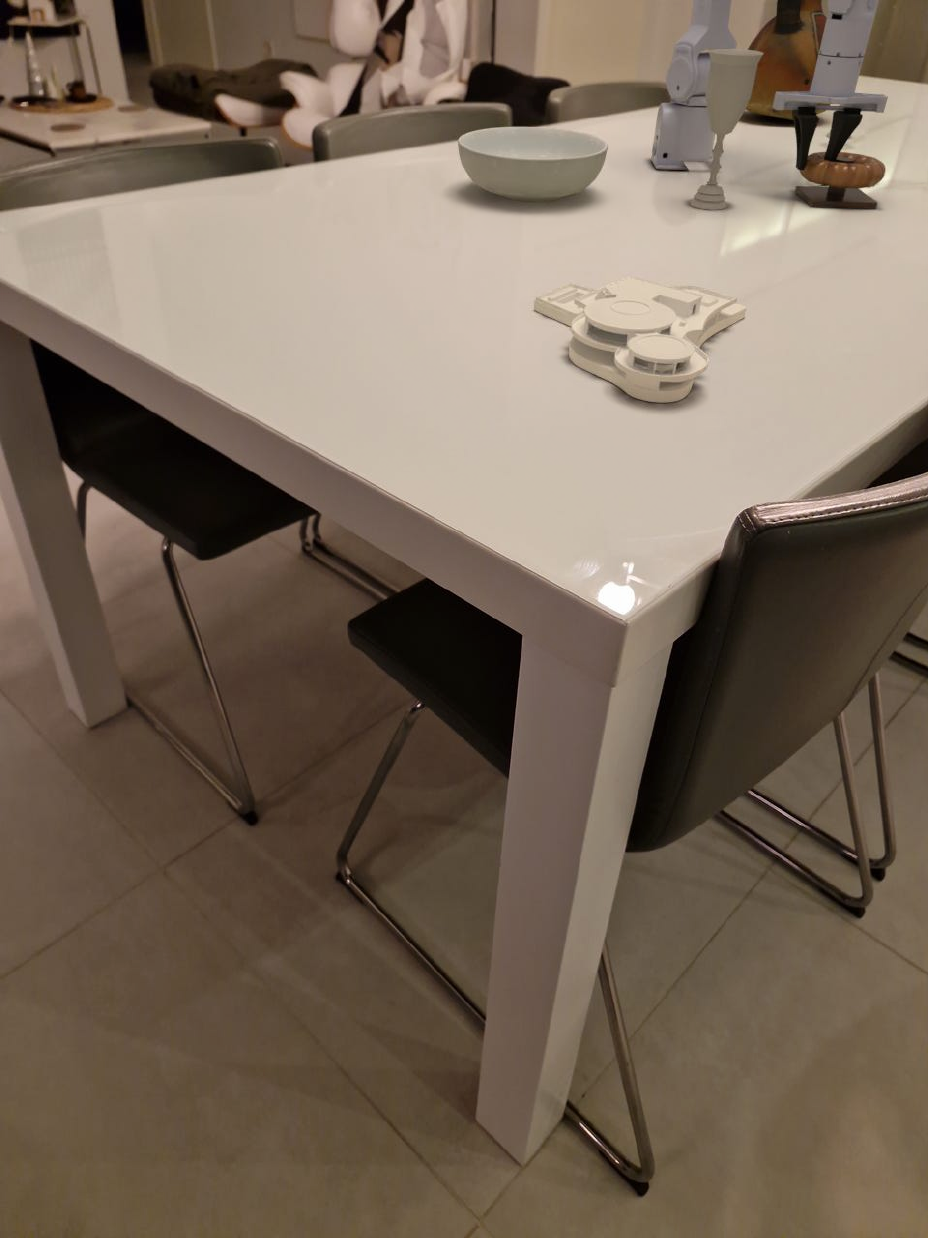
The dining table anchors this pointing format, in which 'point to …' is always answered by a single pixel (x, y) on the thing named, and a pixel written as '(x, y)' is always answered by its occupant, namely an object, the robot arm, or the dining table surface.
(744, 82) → the chalice
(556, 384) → the dining table surface
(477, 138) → the serving bowl
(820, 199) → the post
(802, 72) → the ceramic pitcher
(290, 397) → the dining table surface
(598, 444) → the dining table surface
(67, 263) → the dining table surface
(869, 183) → the ring
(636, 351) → the white architectural building model
